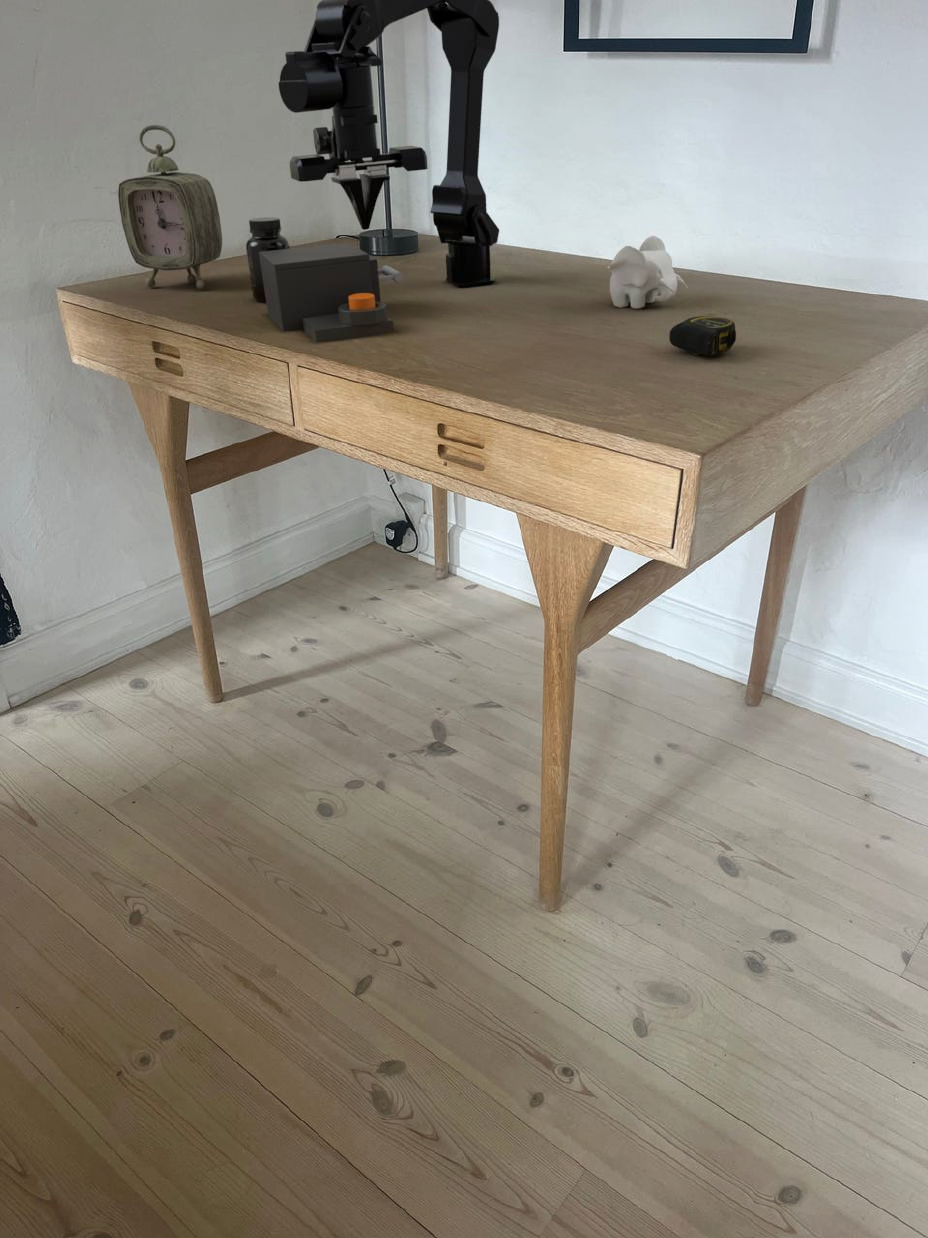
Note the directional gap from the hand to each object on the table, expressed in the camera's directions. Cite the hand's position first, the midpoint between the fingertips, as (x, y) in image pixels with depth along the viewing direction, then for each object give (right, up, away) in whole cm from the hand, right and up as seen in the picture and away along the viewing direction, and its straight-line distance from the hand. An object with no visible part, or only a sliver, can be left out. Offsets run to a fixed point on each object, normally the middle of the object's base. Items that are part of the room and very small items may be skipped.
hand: (365, 228), depth 134 cm
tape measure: (+44, -25, -21) cm, 54 cm away
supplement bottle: (-16, -5, +16) cm, 23 cm away
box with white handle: (-3, -10, +4) cm, 11 cm away
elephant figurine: (+41, -11, +2) cm, 42 cm away
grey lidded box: (-7, -12, +3) cm, 14 cm away
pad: (-2, -16, -4) cm, 17 cm away
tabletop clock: (-35, +2, +28) cm, 44 cm away
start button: (0, -14, -7) cm, 15 cm away
